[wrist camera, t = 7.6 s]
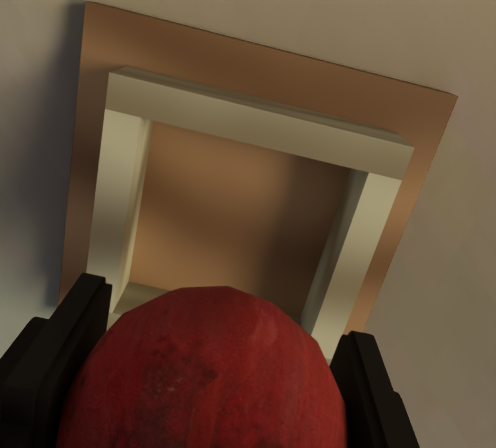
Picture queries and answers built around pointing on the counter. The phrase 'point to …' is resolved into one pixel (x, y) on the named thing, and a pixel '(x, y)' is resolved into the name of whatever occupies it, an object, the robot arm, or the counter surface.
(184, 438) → the onion
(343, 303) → the holder
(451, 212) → the counter surface
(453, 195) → the counter surface
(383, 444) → the robot arm
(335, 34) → the counter surface
